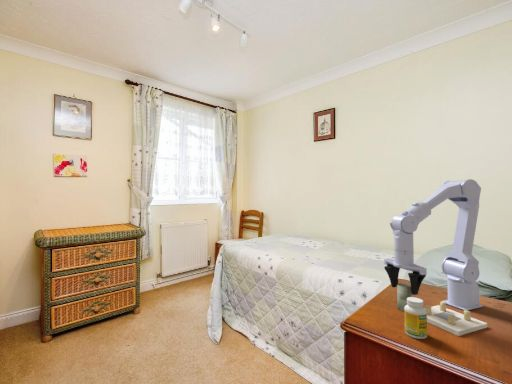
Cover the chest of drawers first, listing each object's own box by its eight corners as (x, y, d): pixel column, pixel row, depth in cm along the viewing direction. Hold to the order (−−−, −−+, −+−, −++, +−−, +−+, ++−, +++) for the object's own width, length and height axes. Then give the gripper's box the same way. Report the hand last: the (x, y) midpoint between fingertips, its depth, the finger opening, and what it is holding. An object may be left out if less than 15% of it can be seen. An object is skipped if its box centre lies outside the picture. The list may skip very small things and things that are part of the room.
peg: (403, 305, 92) (403, 282, 92) (415, 310, 88) (414, 286, 88) (394, 307, 90) (394, 284, 90) (406, 312, 86) (405, 288, 86)
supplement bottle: (410, 327, 76) (410, 294, 76) (430, 335, 72) (430, 300, 72) (400, 333, 73) (400, 298, 73) (421, 341, 69) (420, 305, 69)
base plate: (438, 308, 89) (438, 297, 89) (487, 327, 76) (487, 314, 76) (411, 314, 84) (411, 303, 84) (458, 336, 71) (458, 322, 71)
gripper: (377, 247, 95) (378, 285, 94) (415, 255, 81) (415, 299, 81) (392, 246, 97) (392, 282, 97) (430, 253, 84) (431, 296, 83)
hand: (404, 290), depth 89 cm, fingers open, 7 cm apart
